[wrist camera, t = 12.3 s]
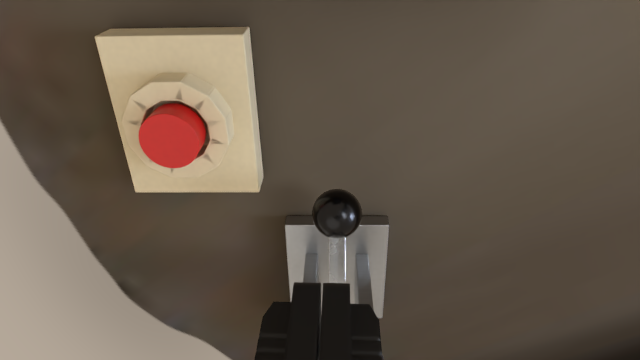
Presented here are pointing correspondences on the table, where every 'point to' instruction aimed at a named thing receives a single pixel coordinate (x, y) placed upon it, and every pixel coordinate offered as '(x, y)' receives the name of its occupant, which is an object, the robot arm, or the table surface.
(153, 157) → the button
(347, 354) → the robot arm
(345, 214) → the lever handle
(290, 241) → the base
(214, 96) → the button block
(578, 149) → the table surface
